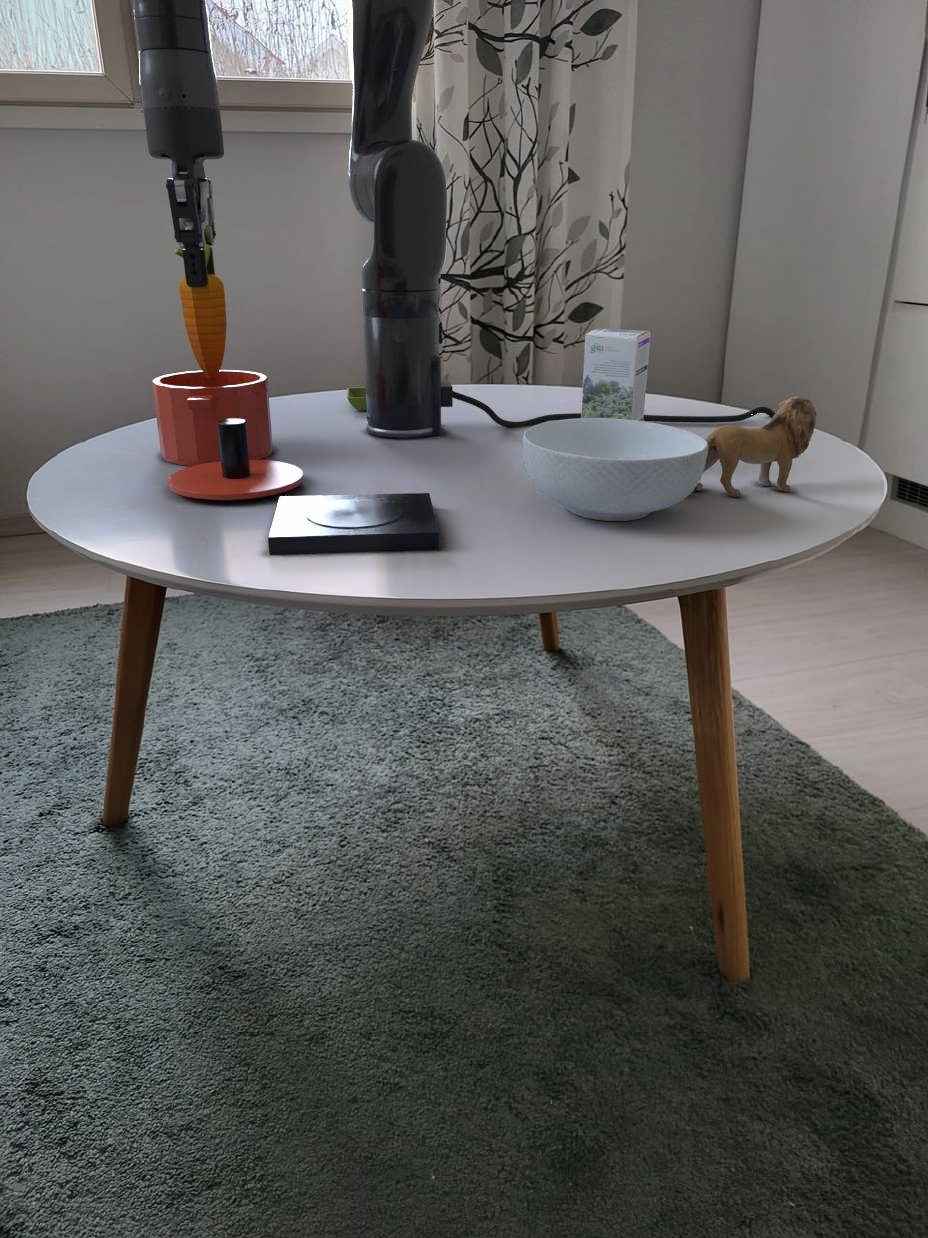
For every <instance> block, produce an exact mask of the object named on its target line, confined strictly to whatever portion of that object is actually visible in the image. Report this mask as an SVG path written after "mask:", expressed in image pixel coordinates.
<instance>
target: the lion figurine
mask: <svg viewBox="0 0 928 1238" xmlns="http://www.w3.org/2000/svg"><path fill="white" fill-rule="evenodd" d="M817 415H818V413H817V411H816V408H815V406H814V404H813V402H812V401H811V400H810V399H809V398H806V397H805V396H790V397H789V398H788V399H784V400H783V401H781V402H780V403H779V404H778V410H777V412H776V413H775V415H774V416H773V417H772V418H771V419H770V420H769V422H768V423H766V424H765V425H763V426H761V427H743V426H738V425H733V424H728V425H727V424H725V425H722V426H719V427H717V428H716V429H714V430H713V431H712V432H711V433H710V434H709V435H708V436H707V438H706V439H705V440H706V441H707V443H708V454H707V458H706V464H705V467H704V471H703V473H705V472H706V471H707V470H709V469H710V468H712V466H714V465H715V464H717V462H718V461H719V463H720V466H721V476H720V479H719V482H720V483H721V485H722V487H723V488H724V490H725V492H726V494H727V495H728V496H729V497H734V498H735V497H740V496H741V495H742V492H741V491H740V489H738V488H735V487H733V484H732V477H733V475H734V473H735V471H736V469H737V467H738V464H739V462H740V461H741V462H743V463H745V464H750V465H760V468H759V469H760V470H759V475H758V479H757V480H758V481H757V484H758V485H759V486H764V487H767V486H768V487H769V486H771V484H772V480H770V470H771V466H772V463H773V462H776V463H777V465H778V476H777V480H776V485H777V489H778V491H780V492H784V493H789V492H791V490H792V488H791V486H790V485H789V484H787V481H788V479H789V475H790V472H791V469H792V466H793V460H794V459H798V458H799V457H800V456H801V455H802V454H803V453H805V451H806V450H807V449H808V448H809V445H810V442H811V439H812V437H813V435H814V432H815V428H816V425H817ZM703 487H704V486H703V483H701V482H699V483H698V485H697V486H696V488H695V489H694V490H693V491H692V492H691V493H692V494H693V493H695V492H696V491H702V490H703ZM691 493H690V494H691Z"/></svg>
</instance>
